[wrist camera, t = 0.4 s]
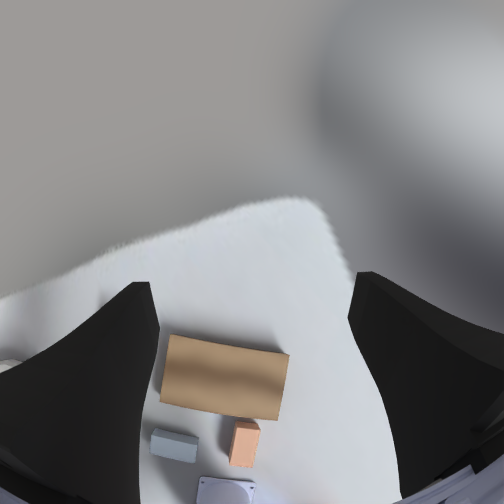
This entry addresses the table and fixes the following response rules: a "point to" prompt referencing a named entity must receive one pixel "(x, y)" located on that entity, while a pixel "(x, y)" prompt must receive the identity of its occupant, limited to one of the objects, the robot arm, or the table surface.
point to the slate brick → (173, 445)
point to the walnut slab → (223, 378)
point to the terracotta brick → (244, 444)
